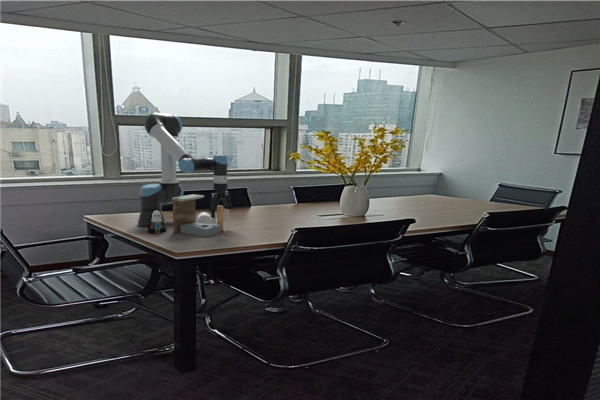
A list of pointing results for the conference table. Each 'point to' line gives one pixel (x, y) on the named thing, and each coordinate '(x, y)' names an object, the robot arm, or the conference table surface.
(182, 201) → the panel
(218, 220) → the peg
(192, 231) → the socket board
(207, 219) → the mug
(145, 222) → the robot arm
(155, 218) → the figurine
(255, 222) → the conference table surface
